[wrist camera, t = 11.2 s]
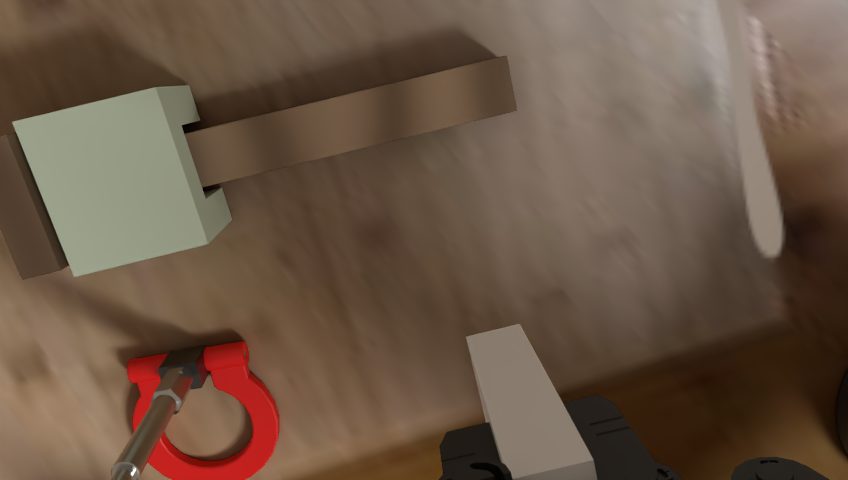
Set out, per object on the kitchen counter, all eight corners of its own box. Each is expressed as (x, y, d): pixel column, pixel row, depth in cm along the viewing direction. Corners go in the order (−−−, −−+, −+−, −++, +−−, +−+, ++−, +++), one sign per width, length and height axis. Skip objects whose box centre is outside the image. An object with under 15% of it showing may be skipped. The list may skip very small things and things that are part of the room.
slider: (188, 85, 36) (155, 87, 31) (232, 219, 38) (208, 244, 33) (67, 114, 36) (12, 121, 31) (117, 247, 38) (74, 276, 33)
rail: (491, 21, 37) (512, 11, 31) (514, 141, 39) (539, 153, 33) (30, 133, 36) (-35, 144, 31) (75, 248, 38) (22, 279, 32)
